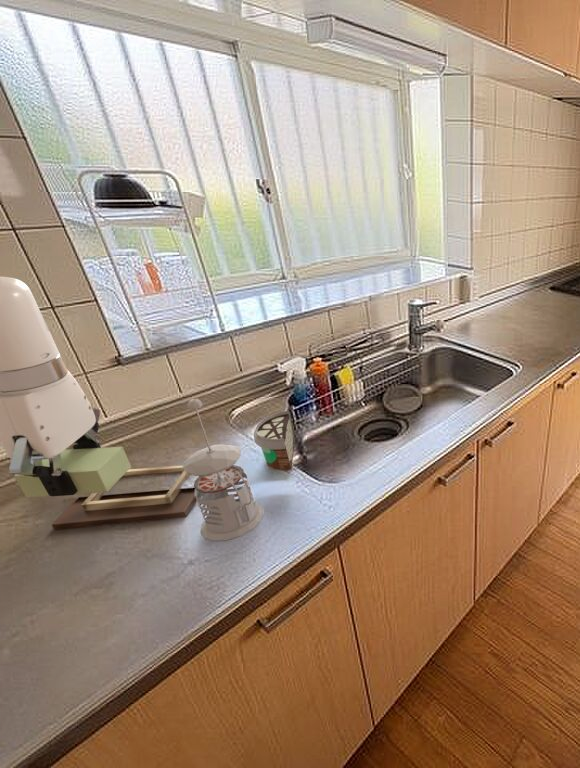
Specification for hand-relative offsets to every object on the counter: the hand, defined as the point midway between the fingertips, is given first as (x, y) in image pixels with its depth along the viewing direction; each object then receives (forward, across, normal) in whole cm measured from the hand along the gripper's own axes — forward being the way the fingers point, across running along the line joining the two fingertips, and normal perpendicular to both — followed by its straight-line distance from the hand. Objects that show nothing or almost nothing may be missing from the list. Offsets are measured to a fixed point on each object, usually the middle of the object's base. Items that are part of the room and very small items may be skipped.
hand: (80, 478), depth 64 cm
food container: (+14, -18, +20) cm, 31 cm away
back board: (+14, -12, -1) cm, 19 cm away
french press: (+14, -2, +18) cm, 23 cm away
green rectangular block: (+1, 0, 0) cm, 1 cm away
